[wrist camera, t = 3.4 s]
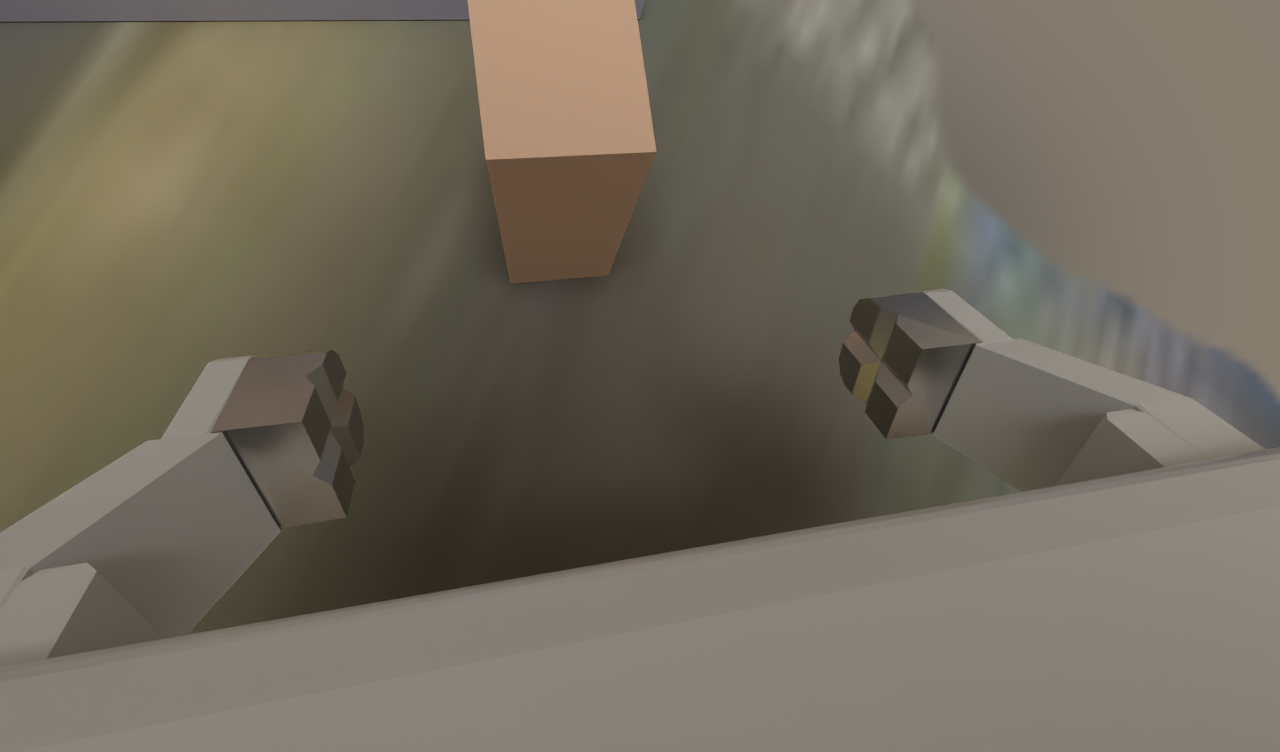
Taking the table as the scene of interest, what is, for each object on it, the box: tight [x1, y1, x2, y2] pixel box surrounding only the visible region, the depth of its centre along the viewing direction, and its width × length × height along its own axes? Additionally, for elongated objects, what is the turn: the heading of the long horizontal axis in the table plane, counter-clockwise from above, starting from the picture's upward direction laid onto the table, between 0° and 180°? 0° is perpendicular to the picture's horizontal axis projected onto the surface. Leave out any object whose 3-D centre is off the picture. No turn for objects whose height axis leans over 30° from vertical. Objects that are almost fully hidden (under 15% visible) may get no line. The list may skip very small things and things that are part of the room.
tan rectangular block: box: [468, 0, 656, 284], centre depth 16 cm, size 4×5×9 cm
